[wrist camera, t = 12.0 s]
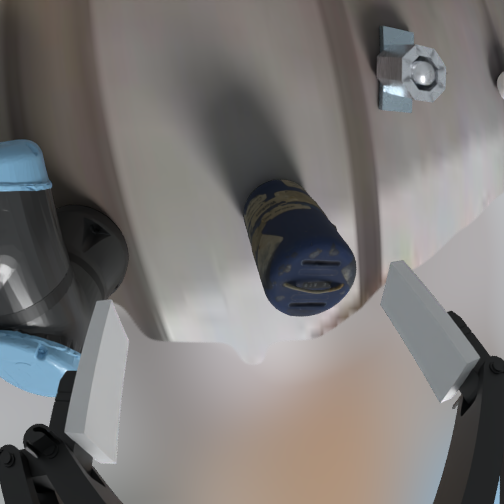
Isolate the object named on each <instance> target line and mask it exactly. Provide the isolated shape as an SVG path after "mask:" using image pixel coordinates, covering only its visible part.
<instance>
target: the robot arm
mask: <svg viewBox="0 0 504 504" xmlns="http://www.w3.org/2000/svg"><path fill="white" fill-rule="evenodd" d="M51 187H52V183H51V181H50V180H49V178H48V174H47V171H46V167H45V162H44V158H43V154H42V151H41V149H40V147H39V146H38V145H37V144H36V143H35V142H33V141H30V140H25V139H20V140H11V141H5V142H0V377H1V378H3V379H4V380H5V381H7V382H9V383H10V384H12V385H14V386H16V387H18V388H20V389H22V390H25V391H27V392H30V393H33V394H37V395H41V396H47V397H56V398H55V402H54V406H53V411H52V415H51V420H50V425H49V427H48V426H46V425H44V424H35V425H33V426H31V427H30V428H29V429H28V430H27V431H26V433H25V435H24V439H23V444H24V448H25V449H22V450H18V449H17V448H16V447H15V446H13V445H4V446H3V447H1V448H0V484H1V489H2V493H3V497H4V501H5V504H123V503H122V502H121V501H120V500H119V499H118V497H117V496H116V495H115V494H114V492H113V491H112V490H111V489H110V488H109V486H108V485H107V484H106V483H105V481H104V480H103V479H102V477H101V476H100V475H99V474H98V472H97V471H96V469H95V468H94V467H93V466H92V459H93V458H94V459H95V460H96V461H97V462H98V463H108V464H116V463H117V445H118V431H119V419H120V408H121V399H122V390H123V382H124V374H125V366H126V359H127V352H128V346H129V340H128V337H127V335H126V333H125V330H124V328H123V326H122V323H121V321H120V319H119V316H118V314H117V311H116V309H115V307H114V304H113V301H112V299H111V300H107V299H108V297H109V296H110V295H111V294H112V293H114V292H115V291H116V290H117V288H118V287H119V286H120V284H121V283H122V281H123V279H124V276H125V273H126V270H127V266H128V257H129V256H128V248H127V244H126V242H125V239H124V237H123V235H122V233H121V232H120V230H119V229H118V227H117V226H116V225H115V224H114V223H113V222H112V221H111V220H110V219H109V218H108V217H106V216H105V215H104V214H102V213H100V212H99V211H97V210H94V209H92V208H89V207H85V206H80V205H69V206H64V207H60V208H58V209H56V208H55V204H54V199H53V195H52V190H51ZM380 305H381V306H382V308H383V309H384V311H385V313H386V314H387V316H388V317H389V318H390V320H391V322H392V323H393V325H394V326H395V328H396V330H397V331H398V333H399V334H400V336H401V338H402V339H403V341H404V343H405V344H406V346H407V347H408V349H409V351H410V352H411V354H412V356H413V357H414V359H415V361H416V362H417V364H418V366H419V367H420V369H421V371H422V372H423V374H424V376H425V377H426V379H427V381H428V382H429V384H430V386H431V388H432V390H433V391H434V393H435V395H436V397H437V398H438V400H439V402H440V403H442V402H444V401H446V400H448V399H450V398H453V397H454V395H455V394H456V392H457V391H458V390H460V392H461V396H460V397H459V399H458V400H457V401H456V402H455V404H454V405H453V407H452V408H453V409H455V407H456V406H457V405H458V409H457V415H456V420H455V425H454V430H453V435H452V440H451V444H450V448H449V452H448V456H447V460H446V463H445V467H444V471H443V474H442V478H441V481H440V484H439V487H438V490H437V494H436V497H435V500H434V502H433V504H494V500H495V495H496V491H497V486H498V482H499V476H500V504H504V361H503V360H502V359H501V358H499V357H497V356H490V355H489V354H488V353H487V351H486V350H485V349H484V347H483V346H482V344H481V343H480V342H479V341H478V339H477V338H476V337H475V335H474V334H473V333H472V332H471V330H470V329H469V327H467V325H466V324H465V322H464V321H463V320H462V318H461V317H460V316H458V315H457V314H455V313H454V312H453V311H449V312H446V311H445V309H444V308H443V307H442V306H441V305H440V303H439V302H438V301H437V299H436V298H435V297H434V296H433V295H432V293H431V292H430V291H429V290H428V289H427V287H426V286H425V285H424V284H423V282H422V281H421V280H420V279H419V278H418V277H417V275H416V274H415V273H414V272H413V271H412V270H411V268H410V267H409V266H408V265H407V264H406V263H405V262H404V260H401V261H396V262H391V264H390V268H389V272H388V276H387V281H386V285H385V289H384V293H383V296H382V301H381V304H380Z"/></svg>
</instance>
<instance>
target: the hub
mask: <svg viewBox="0 0 504 504" xmlns="http://www.w3.org/2000/svg"><path fill="white" fill-rule="evenodd" d="M413 61H423V62H428V63H429V64H431V66H432V67H433V69H434V72H435V77H434V81H433V82H432V83H431V84H430V85H422V84H417V83H414V82H413V81H412V79H411V63H412V62H413ZM377 78H378V80H379V81H380V82H381V83H382V85H383V86H384V87H385V89H386V90H387V91H388V92H389V93H390V94H394V95H398V96H402V97H406V98H410V99H414V100H420V101H427V102H434V100H435V99H436V98H437V97H438V96H439V95H440V94H441V93H442V92H443V91H444V90H445V86H446V66H445V65H444V63H443V62H442V60H441V58H440V57H439V55H438V54H437V52H436V51H435V49H432V48H428V47H424V46H420V45H415V44H392V45H389V46H388V47H387V48H386V49H384V50H383V51H382V52H381V53H380V54H379V55H378V56H377Z"/></svg>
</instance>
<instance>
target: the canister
mask: <svg viewBox="0 0 504 504" xmlns="http://www.w3.org/2000/svg"><path fill="white" fill-rule="evenodd" d="M244 222H245V226H246V229H247V232H248V237H249V240H250V243H251V246H252V252H253V255H254V259H255V262H256V265H257V268H258V272H259V275H260V279H261V282H262V285H263V288H264V291H265V294H266V296H267V298H268V300H269V301H270V303H271V304H272V305H273V306H274V307H275V308H276V309H278V310H279V311H281V312H283V313H285V314H287V315H290V316H311V315H315V314H319V313H321V312H324V311H326V310H328V309H330V308H331V307H333V306H335V305H336V304H337V303H339V302H340V301H341V300H342V299H343V298H344V297H345V295H346V294H347V293H348V291H349V290H350V288H351V287H352V285H353V282H354V279H355V276H356V261H355V257H354V255H353V253H352V251H351V249H350V248H349V246H348V245H347V243H346V242H345V241H344V240H343V238H342V237H341V236H340V234H339V233H338V232H337V229H336V226H335V225H333V224H332V223H331V222H330V221H329V220H328V218H327V216H326V215H325V213H324V212H323V211H322V209H321V208H320V207H319V206H318V204H317V203H316V202H315V201H314V200H313V199H312V198H311V197H310V196H309V195H308V193H307V192H306V191H305V190H304V188H302V187H301V186H300V185H298V184H297V183H295V182H292V181H289V180H273V181H269V182H267V183H264V184H262V185H261V186H259V187H258V188H257V189H255V190H254V191H253V192H252V194H251V195H250V196H249V198H248V200H247V202H246V204H245V208H244Z"/></svg>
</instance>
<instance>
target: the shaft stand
mask: <svg viewBox="0 0 504 504" xmlns="http://www.w3.org/2000/svg"><path fill="white" fill-rule="evenodd" d="M379 28H380V53H381V52H382V51H383V50H384V49H386V48H387V47H388V46H389V45H392V44H414V33H412V32H408V31H404V30H400V29H395V28H391V27H386V26H379ZM434 77H435V72H434V69H433V67H432V66H431V64H429V63H428V62H423V61H413V62H412V63H411V79H412V81H413V82H414V83H417V84H422V85H430V84H431V83H432V82H433V81H434ZM379 109H381V110H388V111H399V112H409V113H412V99H410V98H406V97H402V96H398V95H394V94H390V93H389V92H388V91H387V90H386V89H385V87H384V86H383V85H382V83H381V82H380V87H379Z"/></svg>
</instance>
